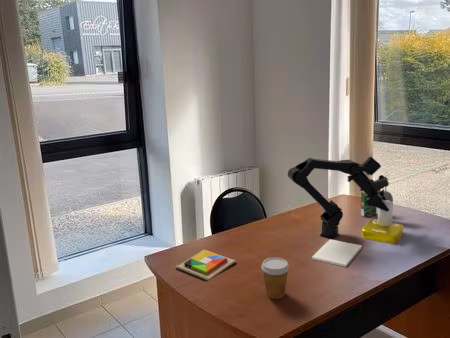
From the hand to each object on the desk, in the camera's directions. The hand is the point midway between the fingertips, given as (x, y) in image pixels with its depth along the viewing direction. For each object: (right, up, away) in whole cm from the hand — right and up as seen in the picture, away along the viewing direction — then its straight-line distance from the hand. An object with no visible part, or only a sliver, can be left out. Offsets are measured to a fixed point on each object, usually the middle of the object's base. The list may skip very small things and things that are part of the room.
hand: (388, 208), depth 196 cm
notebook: (-26, -18, -11) cm, 33 cm away
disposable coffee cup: (-55, -27, -41) cm, 73 cm away
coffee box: (0, -6, +29) cm, 29 cm away
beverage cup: (+5, -8, +19) cm, 21 cm away
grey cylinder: (-1, -7, +2) cm, 7 cm away
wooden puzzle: (-80, -22, -17) cm, 85 cm away
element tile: (-1, -13, +5) cm, 14 cm away
